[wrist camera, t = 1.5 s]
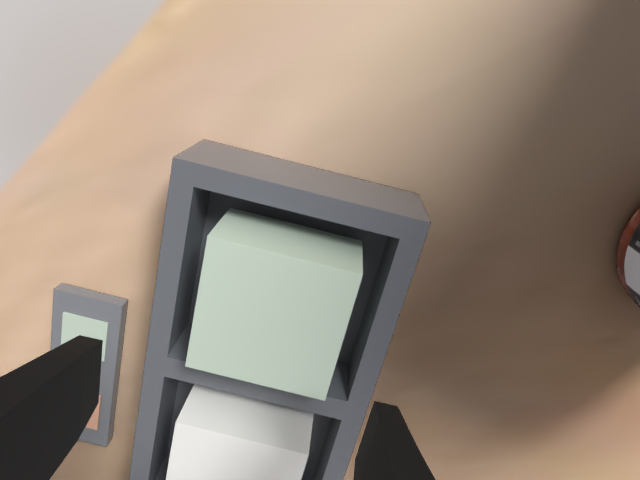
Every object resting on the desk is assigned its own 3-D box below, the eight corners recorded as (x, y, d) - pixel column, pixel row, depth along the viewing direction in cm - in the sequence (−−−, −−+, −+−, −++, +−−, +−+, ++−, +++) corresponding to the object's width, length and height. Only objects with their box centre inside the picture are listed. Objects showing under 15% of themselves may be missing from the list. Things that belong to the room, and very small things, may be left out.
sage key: (362, 240, 19) (363, 274, 16) (329, 352, 20) (325, 400, 18) (230, 207, 19) (207, 235, 16) (208, 322, 20) (185, 366, 18)
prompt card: (128, 299, 22) (121, 306, 22) (112, 438, 25) (105, 448, 25) (61, 283, 22) (52, 289, 22) (53, 423, 25) (44, 434, 24)
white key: (315, 401, 21) (308, 454, 19) (289, 487, 23) (280, 548, 20) (199, 373, 21) (175, 422, 18) (183, 462, 23) (158, 519, 20)
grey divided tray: (418, 194, 20) (431, 222, 16) (289, 591, 28) (280, 662, 25) (203, 139, 20) (172, 157, 16) (138, 555, 28) (109, 622, 25)
